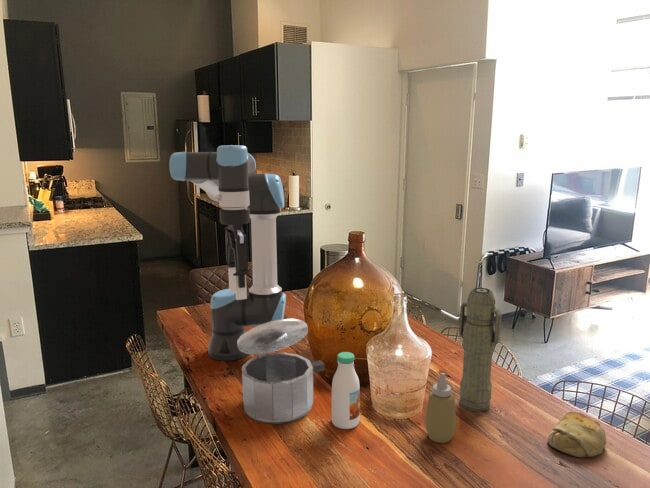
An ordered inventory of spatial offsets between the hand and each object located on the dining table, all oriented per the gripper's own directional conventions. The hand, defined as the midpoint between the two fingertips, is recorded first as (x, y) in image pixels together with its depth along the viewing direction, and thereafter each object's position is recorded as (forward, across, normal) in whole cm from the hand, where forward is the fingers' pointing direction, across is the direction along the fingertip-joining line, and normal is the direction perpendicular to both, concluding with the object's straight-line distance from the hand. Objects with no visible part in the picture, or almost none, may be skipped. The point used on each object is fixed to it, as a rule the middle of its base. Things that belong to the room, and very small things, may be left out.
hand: (237, 294), depth 135 cm
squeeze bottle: (+37, +27, +46) cm, 65 cm away
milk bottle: (+37, +11, +26) cm, 47 cm away
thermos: (+37, +17, +66) cm, 77 cm away
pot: (+37, -6, +14) cm, 40 cm away
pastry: (+37, +43, +76) cm, 95 cm away
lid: (+18, -9, +12) cm, 23 cm away
